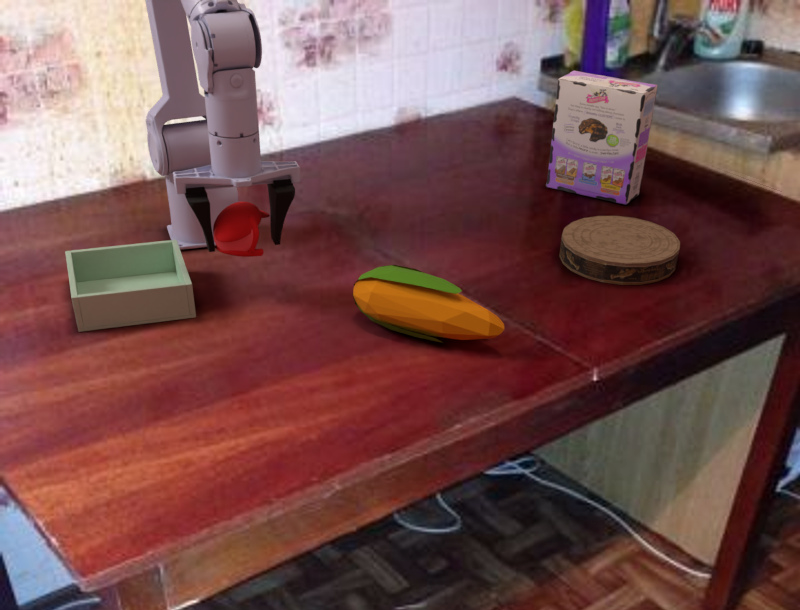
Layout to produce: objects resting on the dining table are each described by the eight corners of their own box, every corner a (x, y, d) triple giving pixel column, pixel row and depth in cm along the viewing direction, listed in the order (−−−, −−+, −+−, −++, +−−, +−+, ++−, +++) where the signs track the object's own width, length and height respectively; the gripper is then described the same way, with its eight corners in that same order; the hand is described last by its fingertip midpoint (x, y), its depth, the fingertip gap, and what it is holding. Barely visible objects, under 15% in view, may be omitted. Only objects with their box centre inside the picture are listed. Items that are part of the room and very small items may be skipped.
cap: (246, 265, 116) (252, 213, 113) (201, 252, 117) (206, 201, 114) (275, 254, 123) (281, 205, 120) (232, 242, 124) (237, 193, 121)
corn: (371, 243, 119) (522, 281, 112) (373, 299, 124) (517, 339, 117) (338, 269, 114) (494, 311, 107) (342, 327, 120) (490, 370, 112)
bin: (180, 271, 130) (176, 239, 127) (196, 317, 120) (192, 283, 117) (71, 283, 126) (64, 250, 123) (78, 332, 117) (71, 297, 114)
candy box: (640, 195, 154) (660, 83, 144) (625, 206, 150) (645, 93, 140) (560, 176, 160) (574, 67, 149) (544, 187, 156) (557, 76, 145)
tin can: (584, 289, 128) (587, 267, 126) (543, 240, 140) (545, 219, 138) (696, 279, 131) (701, 258, 129) (646, 232, 143) (650, 212, 141)
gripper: (173, 146, 107) (188, 265, 115) (304, 136, 110) (309, 251, 119) (165, 126, 112) (179, 241, 120) (290, 117, 115) (295, 229, 124)
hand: (243, 245), depth 120 cm, fingers closed on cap, 7 cm apart
